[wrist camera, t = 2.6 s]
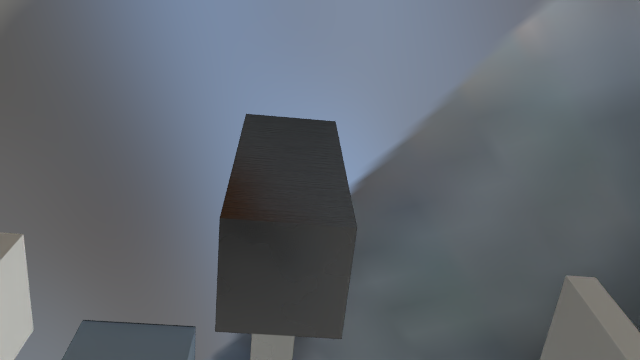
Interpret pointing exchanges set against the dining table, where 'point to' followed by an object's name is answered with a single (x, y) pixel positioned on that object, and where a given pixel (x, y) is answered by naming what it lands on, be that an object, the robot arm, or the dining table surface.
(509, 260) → the dining table surface
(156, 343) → the cube
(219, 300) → the dark grey angular block
